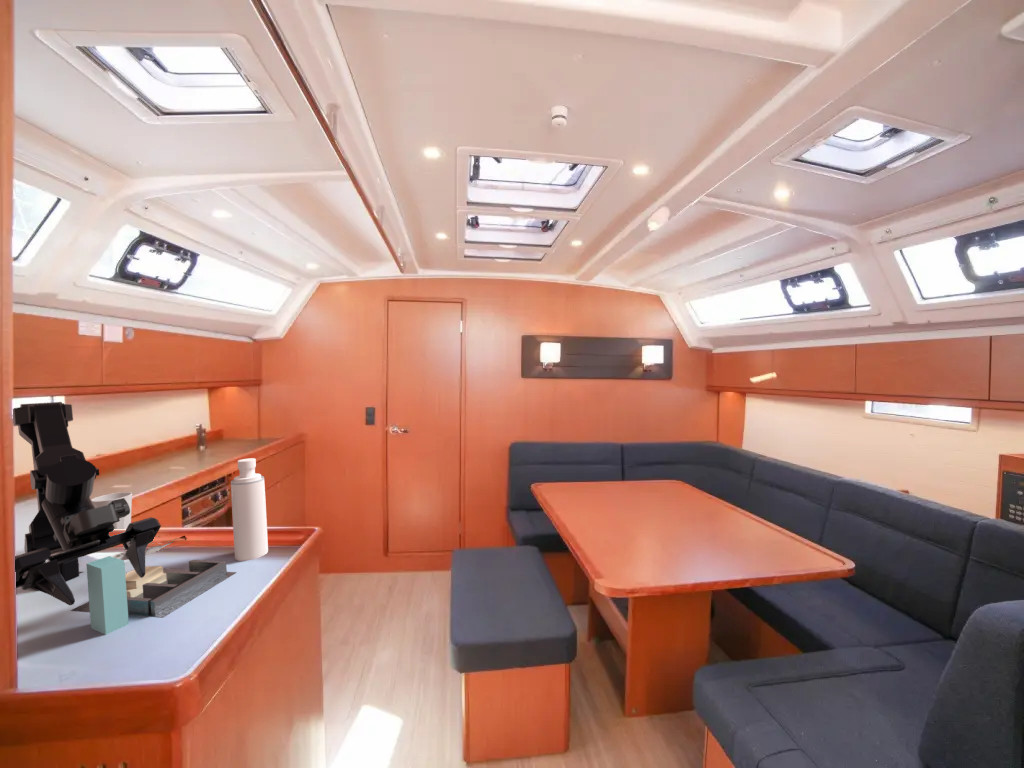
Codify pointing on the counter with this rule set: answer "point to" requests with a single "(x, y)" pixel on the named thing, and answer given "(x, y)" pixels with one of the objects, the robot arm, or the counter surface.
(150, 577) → the upper offcut
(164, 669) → the counter surface
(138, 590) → the lower offcut
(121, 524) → the cup
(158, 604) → the tray
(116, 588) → the teal block
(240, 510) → the white bottle
